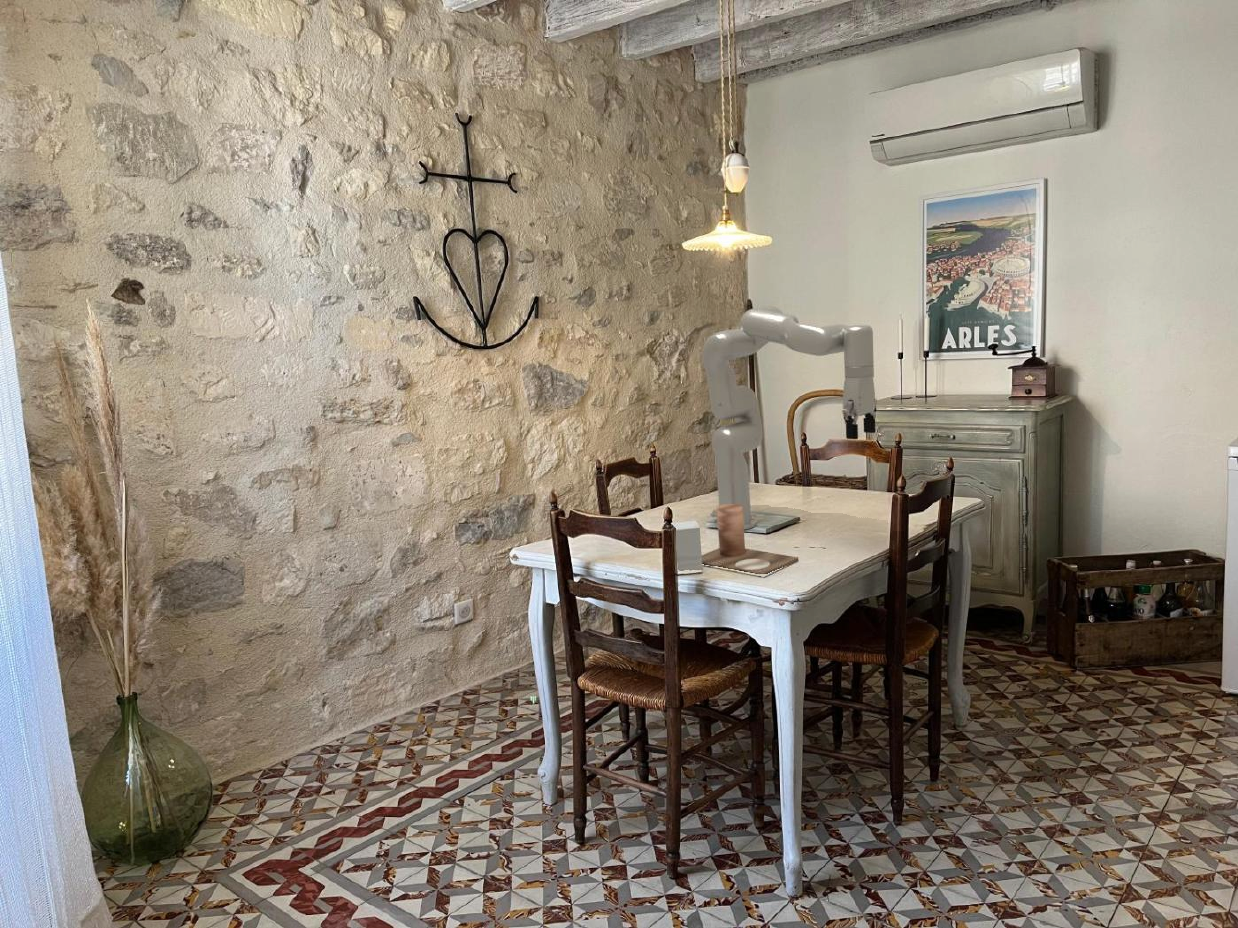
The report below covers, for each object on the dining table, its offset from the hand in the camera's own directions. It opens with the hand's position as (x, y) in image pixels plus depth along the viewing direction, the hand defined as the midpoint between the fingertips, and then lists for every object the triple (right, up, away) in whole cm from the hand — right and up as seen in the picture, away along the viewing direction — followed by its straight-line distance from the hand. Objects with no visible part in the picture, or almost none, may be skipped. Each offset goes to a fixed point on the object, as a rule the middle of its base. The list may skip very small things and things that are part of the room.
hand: (861, 435), depth 253 cm
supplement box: (-47, -36, -3) cm, 59 cm away
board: (-32, -34, 0) cm, 47 cm away
